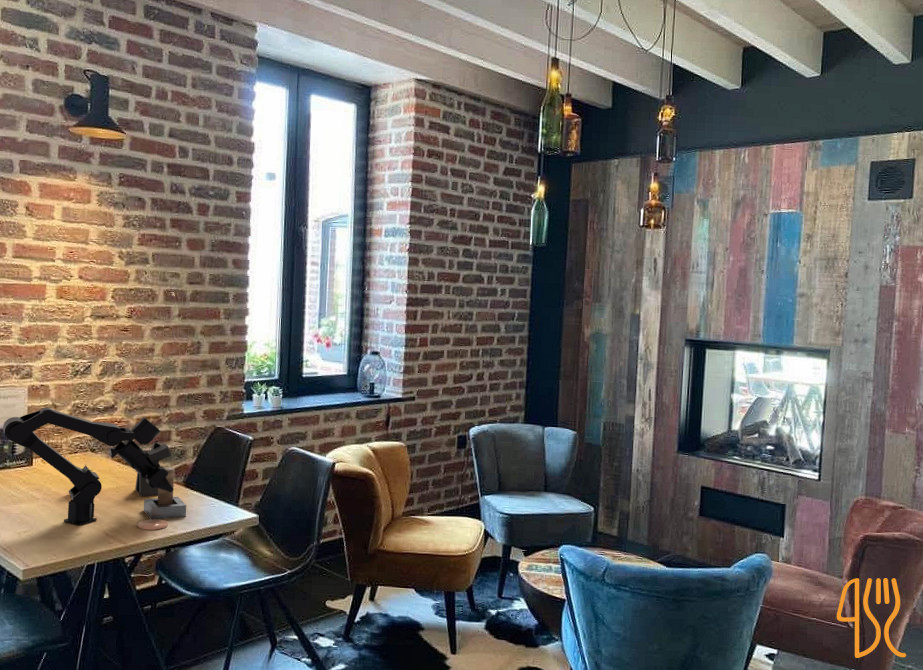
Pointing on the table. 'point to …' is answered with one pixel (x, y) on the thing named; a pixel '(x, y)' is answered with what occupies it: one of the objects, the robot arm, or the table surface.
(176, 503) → the metal socket
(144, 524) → the terracotta coaster
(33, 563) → the table surface
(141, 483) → the door stopper
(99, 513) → the table surface
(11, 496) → the table surface
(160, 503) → the walnut peg
